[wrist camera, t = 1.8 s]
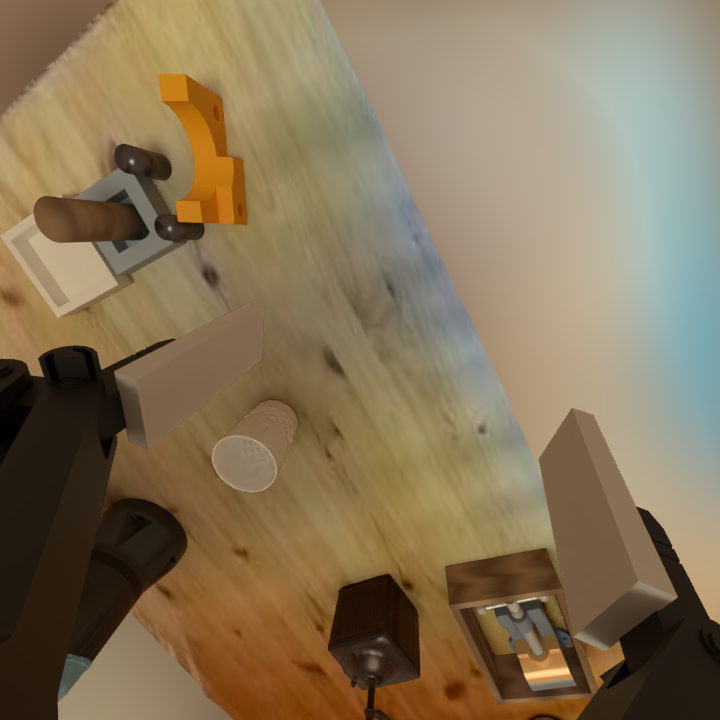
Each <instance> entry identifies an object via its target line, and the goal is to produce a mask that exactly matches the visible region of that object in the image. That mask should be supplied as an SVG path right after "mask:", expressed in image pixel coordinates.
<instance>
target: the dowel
mask: <svg viewBox="0 0 720 720" xmlns="http://www.w3.org/2000/svg"><path fill="white" fill-rule="evenodd" d="M34 219H35V222H36V224H37V226H38V228H39V230H40V231H41V232H42V233H43V235H44V236H46V237H47V238H48V239H50V240H51V241H53V242H57V243H75V242H104V241H133V240H143V239H145V238H146V237H147V236H148V235H149V232H150V231H149V229H148V228H147V226H146V224H145V222H144V221H143V219H142V217H141V216H140V214H139V212H138V210H137V209H136V207H135V205H133V204H124V203H113V202H103V201H92V200H82V199H71V198H61V197H50V196H44V197H41V198H39V199H38V200H37V202H36V203H35V206H34Z"/></svg>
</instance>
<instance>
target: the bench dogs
mask: <svg viewBox="0 0 720 720" xmlns="http://www.w3.org/2000/svg"><path fill="white" fill-rule="evenodd" d="M114 156H115V162H116V164H117V166H118V167H119V169H120V170H122V171H123V172H125V173H127V174H132V175H137V176H142V177H147V178H152V179H157V180H167V179H168V178H169V177H170V175H171V165H170V162H169V161H168V159H167V158H166V157H165V156H163V155H160V154H157V153H153V152H150V151H147V150H144V149H140V148H137V147H134V146H130V145H127V144H121V145H119V146H118V147H117V148H116V150H115V154H114ZM154 228H155V231H156V233H157V235H158V236H159V237H160V238H162V239H163V240H166V241H175V240H197V239H200V238H201V237H202V236H203V234H204V226H203V223H195V222H178V217H177V215H167V214H161V215H159V216H157V217H156V219H155V222H154Z"/></svg>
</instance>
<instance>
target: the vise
mask: <svg viewBox="0 0 720 720" xmlns="http://www.w3.org/2000/svg"><path fill="white" fill-rule="evenodd" d="M549 598H550V596H544V597H537V598H531V599H524V600H517V601H510V602H504V603H497V604H490V605H483V606H477V607H476V611H477V613H478V614H480V615H485V614H486V612H487V610H490V609H493V610H495V614H496V618H497V619H498V621H499V623H500V625H501V626H502V627H506V629H507V630H508V632H509V634H510V636H511V637H510V638H509V643H510V647H511V649H512V650H514V651H515V652H516V653H517V656H518V658H519V660H520V664H521V667H522V670H523V672H524V675H525V678H526V680H527V682H528V684H529V685H530V687H531V689H532V690H533V691H540V690H548V689H556V688H563V687H571V686H577V682H576V679H575V676H574V674H573V671H572V668H571V665H570V663H569V660H568V657H567V654H566V652H565V648H566V646H568V645H569V644H570V643H571V638H570V635H569V633H568V631H567V630H565V629H563V628H560V627H555V626H553V624H552V622H551V620H550V618H549V616H548V614H547V612H546V610H545V608H544V607H543V605H542V602H547V601H548V600H549ZM522 602H523V603H522ZM519 603H520V604H519Z"/></svg>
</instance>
